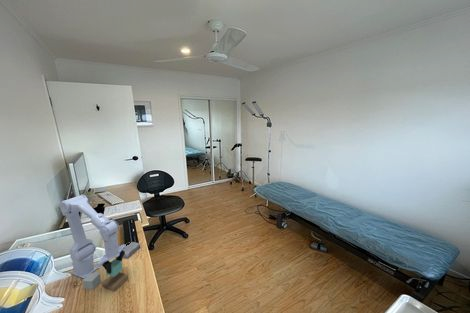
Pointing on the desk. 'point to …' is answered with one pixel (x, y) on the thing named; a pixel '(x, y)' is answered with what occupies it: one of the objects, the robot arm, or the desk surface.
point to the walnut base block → (115, 281)
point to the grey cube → (91, 281)
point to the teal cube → (115, 267)
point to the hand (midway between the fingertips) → (114, 268)
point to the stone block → (131, 249)
